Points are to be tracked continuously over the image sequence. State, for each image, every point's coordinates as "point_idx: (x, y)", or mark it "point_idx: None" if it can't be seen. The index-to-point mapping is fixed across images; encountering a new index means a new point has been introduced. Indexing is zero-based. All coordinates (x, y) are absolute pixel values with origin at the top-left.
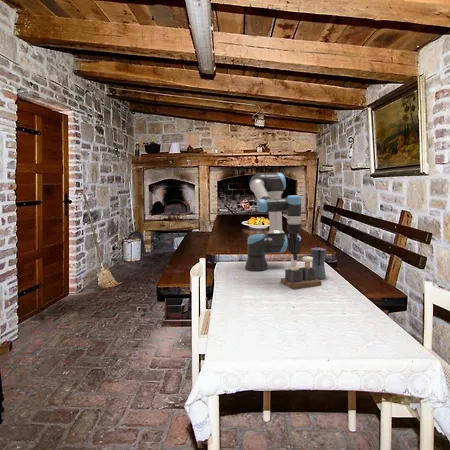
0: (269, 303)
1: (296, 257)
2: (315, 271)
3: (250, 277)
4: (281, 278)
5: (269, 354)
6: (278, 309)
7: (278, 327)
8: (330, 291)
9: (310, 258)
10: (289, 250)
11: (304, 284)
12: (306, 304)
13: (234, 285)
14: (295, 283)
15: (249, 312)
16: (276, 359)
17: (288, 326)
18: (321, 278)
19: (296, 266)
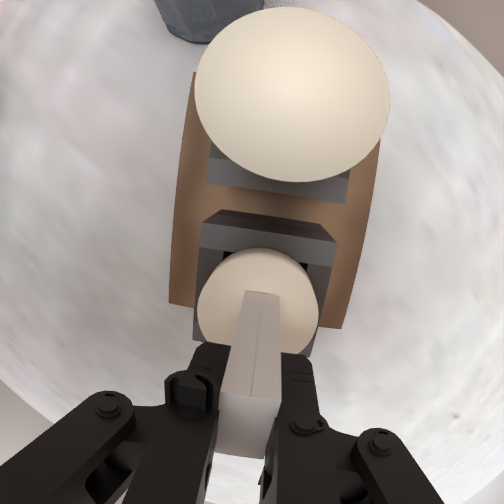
0: None
1: (313, 389)
2: None
3: (49, 342)
4: (171, 297)
5: (486, 481)
6: (430, 450)
7: (470, 466)
8: (470, 165)
9: (388, 107)
10: (132, 473)
11: (360, 245)
12: (478, 374)
13: None
14: (325, 299)
15: None
16: (495, 476)
17: (483, 452)
18: (260, 9)
19: (299, 314)
